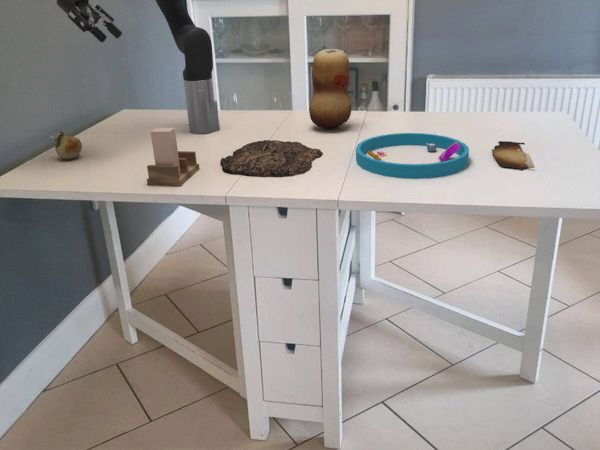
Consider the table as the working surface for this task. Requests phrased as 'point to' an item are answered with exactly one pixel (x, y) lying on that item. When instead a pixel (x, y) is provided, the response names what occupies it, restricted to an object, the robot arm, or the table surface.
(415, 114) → the table surface
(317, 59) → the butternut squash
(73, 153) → the onion
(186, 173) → the rack
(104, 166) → the table surface
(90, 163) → the table surface
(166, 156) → the clay block
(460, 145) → the teal plastic ring
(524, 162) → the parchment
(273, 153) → the stone relief
